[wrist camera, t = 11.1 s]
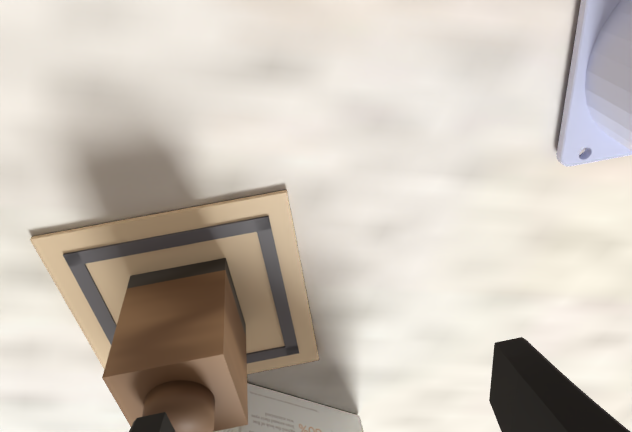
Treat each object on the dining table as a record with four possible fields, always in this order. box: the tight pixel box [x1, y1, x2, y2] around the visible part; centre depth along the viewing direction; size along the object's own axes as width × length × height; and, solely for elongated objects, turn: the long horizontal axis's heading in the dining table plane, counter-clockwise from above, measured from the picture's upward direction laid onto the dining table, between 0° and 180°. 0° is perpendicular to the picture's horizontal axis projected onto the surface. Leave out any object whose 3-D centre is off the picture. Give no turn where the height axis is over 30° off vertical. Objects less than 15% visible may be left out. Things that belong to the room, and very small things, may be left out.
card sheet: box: [30, 190, 319, 374], centre depth 22 cm, size 10×10×1 cm
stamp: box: [102, 258, 248, 432], centre depth 19 cm, size 4×4×6 cm
